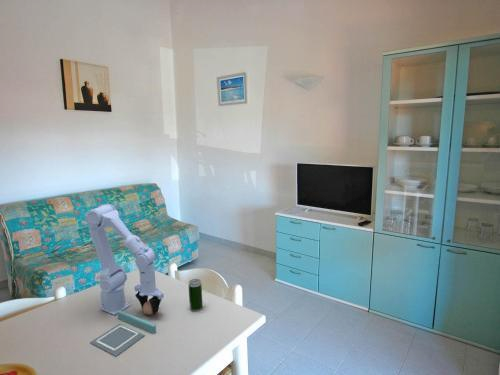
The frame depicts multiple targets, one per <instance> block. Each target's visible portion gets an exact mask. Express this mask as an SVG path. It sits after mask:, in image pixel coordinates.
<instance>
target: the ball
mask: <svg viewBox="0 0 500 375" xmlns="http://www.w3.org/2000/svg"><path fill="white" fill-rule="evenodd" d="M142 311H143V313H144V314H145V315H149V316H150V315H154V314H153V311H152V306H151V303H150V301H149V300H148V301H147V302H145V303H144V305H143V309H142Z"/></svg>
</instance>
